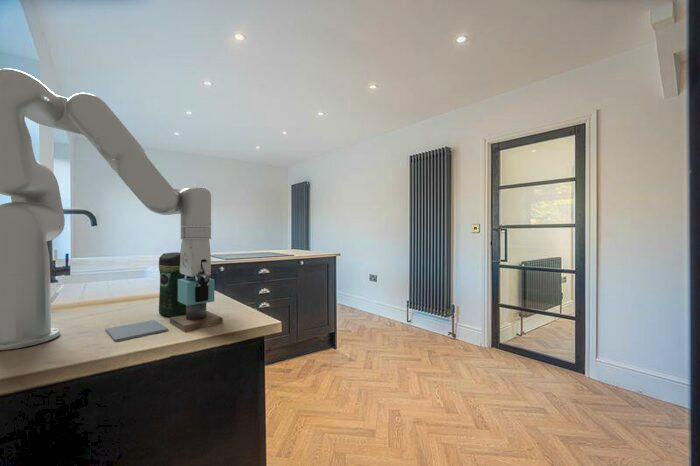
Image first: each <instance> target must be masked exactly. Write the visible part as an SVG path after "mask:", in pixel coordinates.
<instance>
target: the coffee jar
mask: <svg viewBox="0 0 700 466" xmlns="http://www.w3.org/2000/svg"><path fill="white" fill-rule="evenodd" d="M158 269H159V270H158V271H159V299H158V314H160V315H161V316H167V317H170V318H171V317H176V316H182V315H186V305H185V304H183V303H181V302H178V279H184V275H183V274H181V273H180V252H178V251H177V252H176V251H175V252H165V253H162V254H161V255H160V256H159V258H158Z"/></svg>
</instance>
